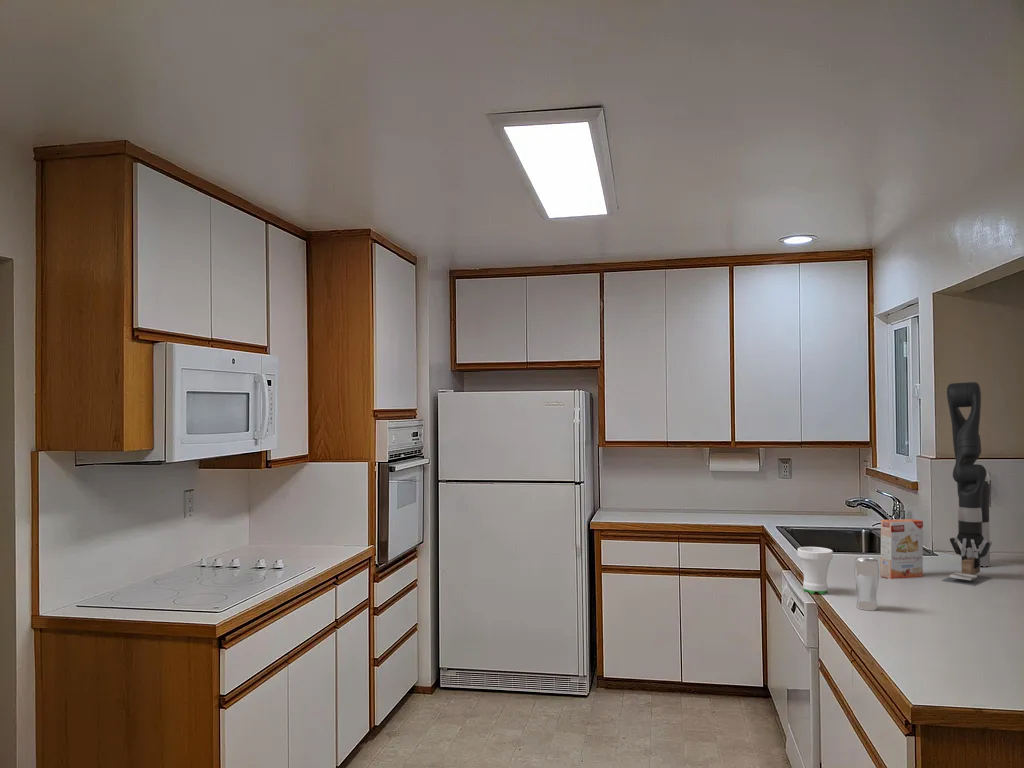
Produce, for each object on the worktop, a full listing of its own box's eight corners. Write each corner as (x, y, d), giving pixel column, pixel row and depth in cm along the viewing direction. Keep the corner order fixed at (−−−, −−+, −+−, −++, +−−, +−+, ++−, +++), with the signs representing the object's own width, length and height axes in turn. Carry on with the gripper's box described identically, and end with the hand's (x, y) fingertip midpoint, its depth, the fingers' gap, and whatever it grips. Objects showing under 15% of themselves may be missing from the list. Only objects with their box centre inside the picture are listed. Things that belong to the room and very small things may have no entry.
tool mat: (959, 574, 299) (959, 573, 299) (992, 579, 291) (992, 577, 291) (940, 582, 286) (940, 580, 286) (975, 587, 278) (975, 585, 278)
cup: (836, 596, 264) (835, 553, 265) (800, 595, 267) (800, 551, 267) (829, 589, 275) (829, 547, 276) (795, 587, 278) (795, 546, 278)
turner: (964, 569, 297) (964, 556, 298) (986, 572, 292) (985, 558, 292) (948, 577, 286) (948, 562, 286) (970, 580, 281) (970, 565, 281)
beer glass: (858, 604, 254) (858, 556, 255) (882, 608, 250) (881, 559, 250) (851, 608, 249) (851, 559, 249) (875, 612, 245) (875, 562, 245)
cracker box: (891, 580, 289) (891, 521, 290) (879, 576, 295) (879, 519, 295) (924, 578, 293) (923, 520, 293) (911, 574, 299) (911, 518, 299)
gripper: (995, 520, 289) (995, 568, 289) (952, 516, 299) (953, 563, 299) (988, 522, 284) (989, 572, 284) (945, 518, 294) (946, 566, 294)
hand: (970, 567), depth 291 cm, fingers closed on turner, 3 cm apart
